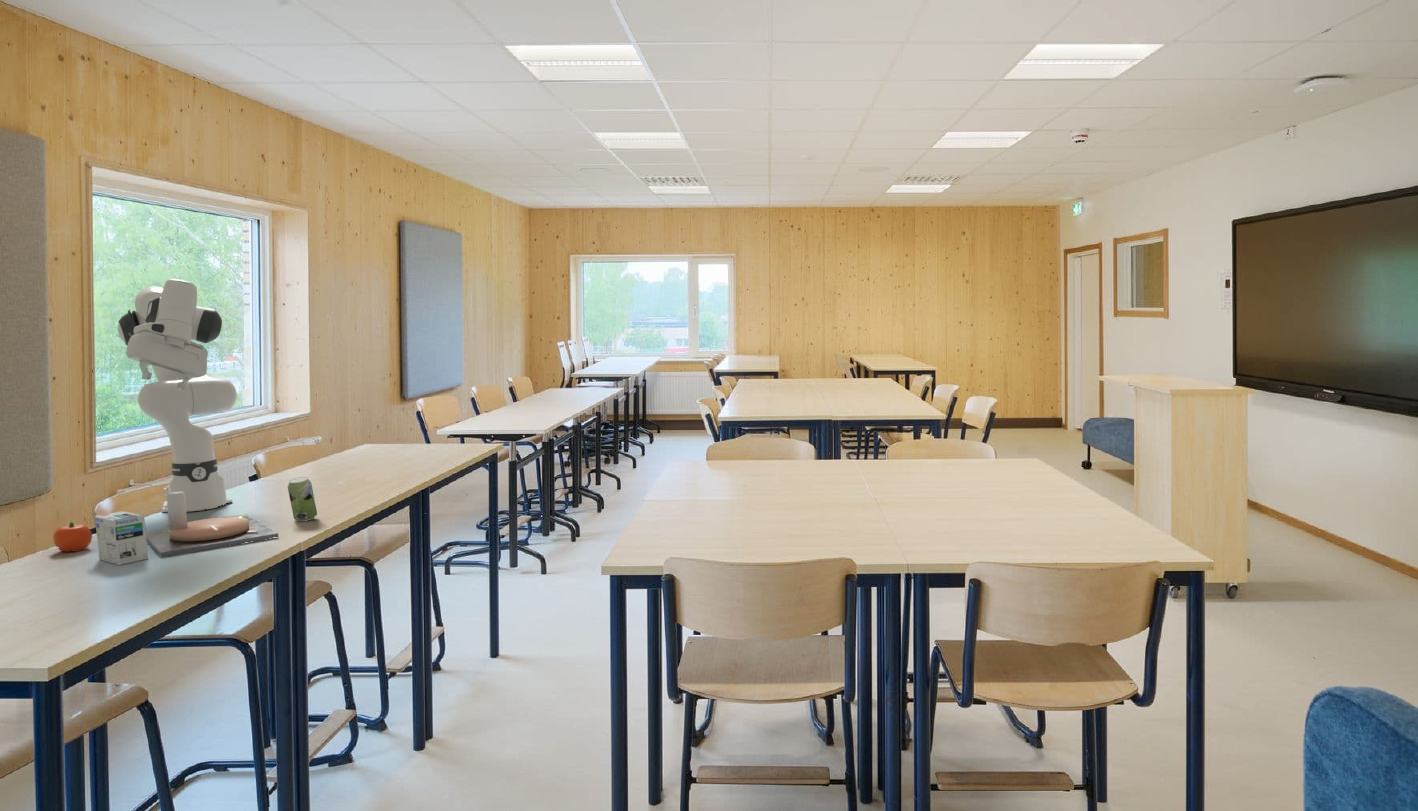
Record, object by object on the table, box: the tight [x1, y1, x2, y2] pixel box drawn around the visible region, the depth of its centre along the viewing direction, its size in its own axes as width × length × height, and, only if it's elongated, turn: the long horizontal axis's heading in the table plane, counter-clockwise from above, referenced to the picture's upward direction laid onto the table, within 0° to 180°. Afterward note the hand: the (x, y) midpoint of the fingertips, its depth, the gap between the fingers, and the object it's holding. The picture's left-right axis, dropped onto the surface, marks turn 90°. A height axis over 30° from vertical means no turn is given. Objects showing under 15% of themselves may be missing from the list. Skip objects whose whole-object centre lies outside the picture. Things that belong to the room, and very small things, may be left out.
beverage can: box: [287, 476, 318, 522], centre depth 250 cm, size 6×7×12 cm
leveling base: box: [146, 514, 279, 559], centre depth 232 cm, size 26×26×3 cm
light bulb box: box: [94, 510, 149, 566], centre depth 213 cm, size 11×7×11 cm, turn 56°
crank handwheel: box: [166, 492, 249, 541], centre depth 231 cm, size 18×18×11 cm
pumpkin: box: [52, 521, 93, 553], centre depth 223 cm, size 8×8×7 cm
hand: (163, 384), depth 240 cm, fingers open, 8 cm apart
